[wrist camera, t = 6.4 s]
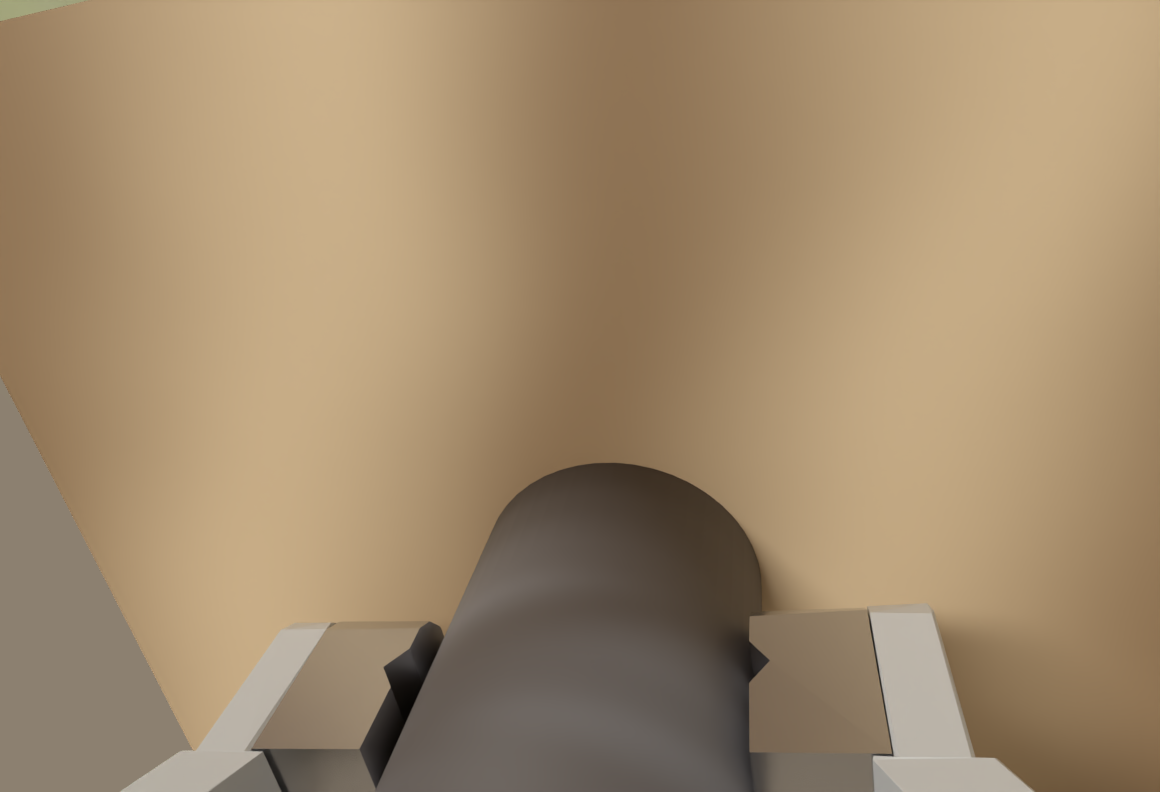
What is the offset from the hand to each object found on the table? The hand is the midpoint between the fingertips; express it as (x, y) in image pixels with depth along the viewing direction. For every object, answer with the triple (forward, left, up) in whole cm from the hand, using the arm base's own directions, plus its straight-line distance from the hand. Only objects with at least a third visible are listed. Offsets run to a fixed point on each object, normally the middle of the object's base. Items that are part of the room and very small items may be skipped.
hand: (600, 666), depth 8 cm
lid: (0, 0, -2) cm, 2 cm away
